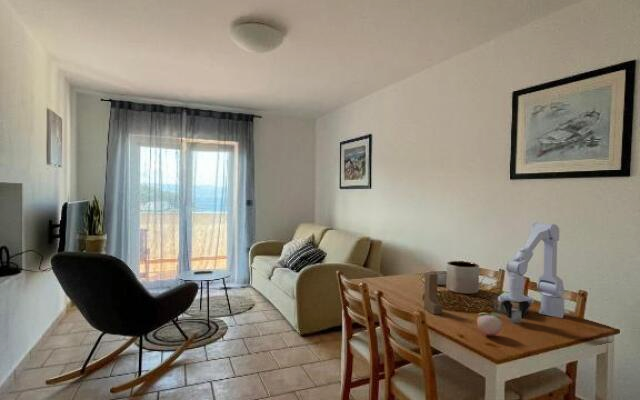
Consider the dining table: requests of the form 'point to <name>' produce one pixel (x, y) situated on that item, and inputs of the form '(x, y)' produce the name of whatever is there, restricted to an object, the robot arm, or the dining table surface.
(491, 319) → the decorative fruit
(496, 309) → the trapdoor frame
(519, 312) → the stone
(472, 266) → the planter
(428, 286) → the grey upright bracket
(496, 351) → the dining table surface
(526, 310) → the trapdoor
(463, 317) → the dining table surface
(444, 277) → the tin
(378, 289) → the dining table surface
